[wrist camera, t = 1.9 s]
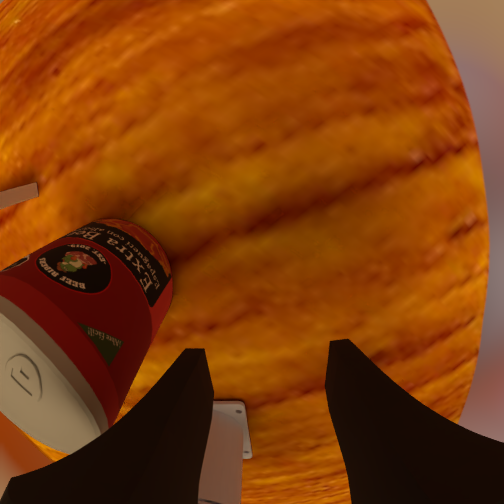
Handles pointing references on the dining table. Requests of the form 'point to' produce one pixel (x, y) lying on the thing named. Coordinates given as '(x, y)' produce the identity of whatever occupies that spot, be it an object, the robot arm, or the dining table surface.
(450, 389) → the dining table surface
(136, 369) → the canned food
